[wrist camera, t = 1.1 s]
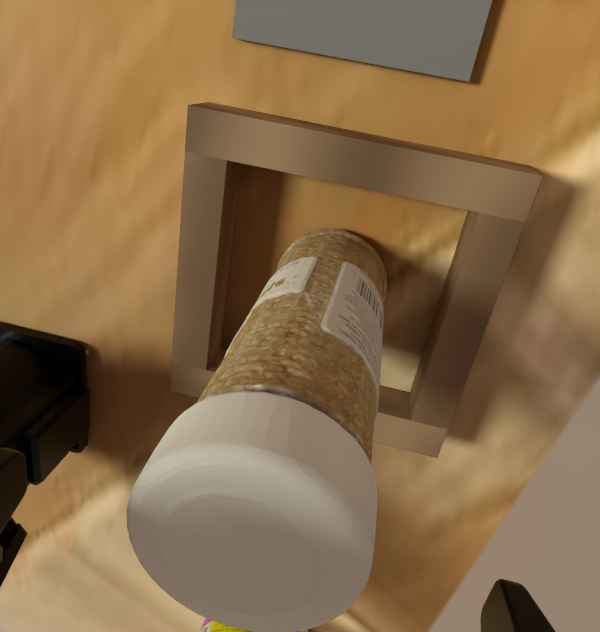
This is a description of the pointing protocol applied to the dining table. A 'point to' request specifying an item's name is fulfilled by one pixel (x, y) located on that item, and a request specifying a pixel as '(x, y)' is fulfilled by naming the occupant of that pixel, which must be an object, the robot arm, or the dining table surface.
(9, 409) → the robot arm
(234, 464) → the sprinkles bottle
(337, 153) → the walnut collar stand
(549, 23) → the dining table surface
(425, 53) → the grey flat square slab
